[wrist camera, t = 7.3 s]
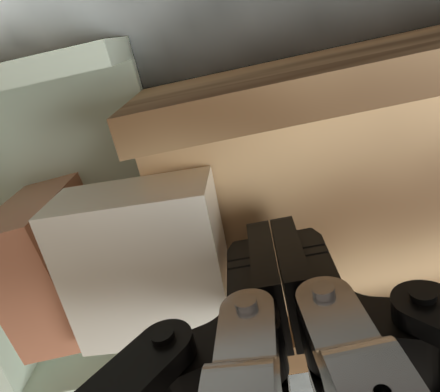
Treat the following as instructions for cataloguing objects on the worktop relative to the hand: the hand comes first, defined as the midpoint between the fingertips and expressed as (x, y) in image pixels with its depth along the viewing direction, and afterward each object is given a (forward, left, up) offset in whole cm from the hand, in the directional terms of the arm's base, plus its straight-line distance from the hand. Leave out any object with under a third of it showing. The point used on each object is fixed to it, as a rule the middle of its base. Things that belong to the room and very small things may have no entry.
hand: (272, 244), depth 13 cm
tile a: (0, -4, -1) cm, 4 cm away
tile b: (0, -7, -2) cm, 7 cm away
